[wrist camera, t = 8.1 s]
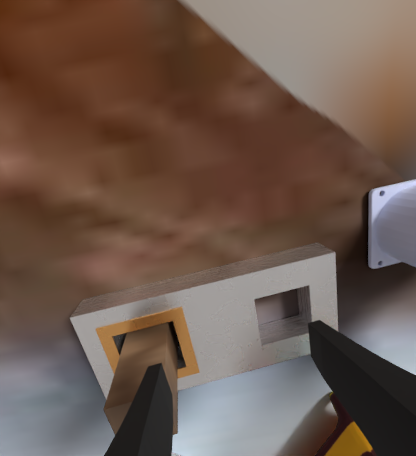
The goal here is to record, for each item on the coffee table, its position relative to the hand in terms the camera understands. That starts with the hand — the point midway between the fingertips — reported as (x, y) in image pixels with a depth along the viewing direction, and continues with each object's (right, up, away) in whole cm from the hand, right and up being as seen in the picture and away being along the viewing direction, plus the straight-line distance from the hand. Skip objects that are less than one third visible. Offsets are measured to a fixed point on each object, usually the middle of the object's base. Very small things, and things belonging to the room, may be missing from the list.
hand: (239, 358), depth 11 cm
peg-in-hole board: (-1, -2, +11) cm, 12 cm away
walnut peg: (-7, -4, +11) cm, 13 cm away
